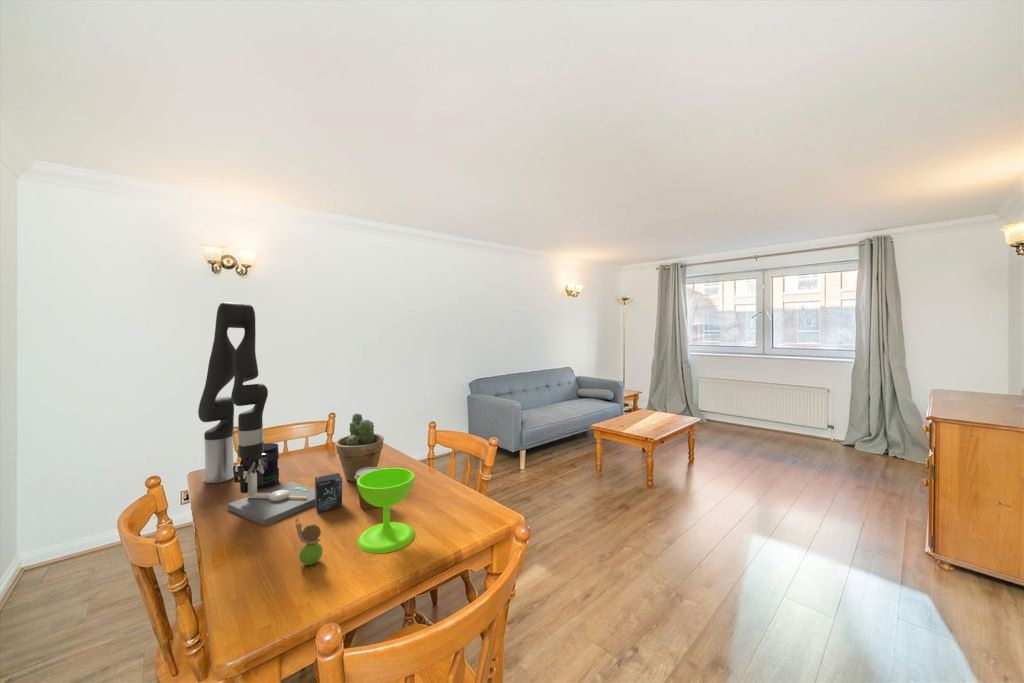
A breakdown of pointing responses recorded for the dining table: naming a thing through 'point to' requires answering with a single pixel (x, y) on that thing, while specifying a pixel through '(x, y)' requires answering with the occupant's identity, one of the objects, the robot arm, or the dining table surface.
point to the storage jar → (270, 467)
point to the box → (328, 492)
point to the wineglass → (385, 508)
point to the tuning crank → (272, 496)
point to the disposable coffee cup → (362, 502)
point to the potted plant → (359, 447)
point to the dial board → (274, 504)
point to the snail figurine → (309, 543)
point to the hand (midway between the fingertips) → (252, 488)
